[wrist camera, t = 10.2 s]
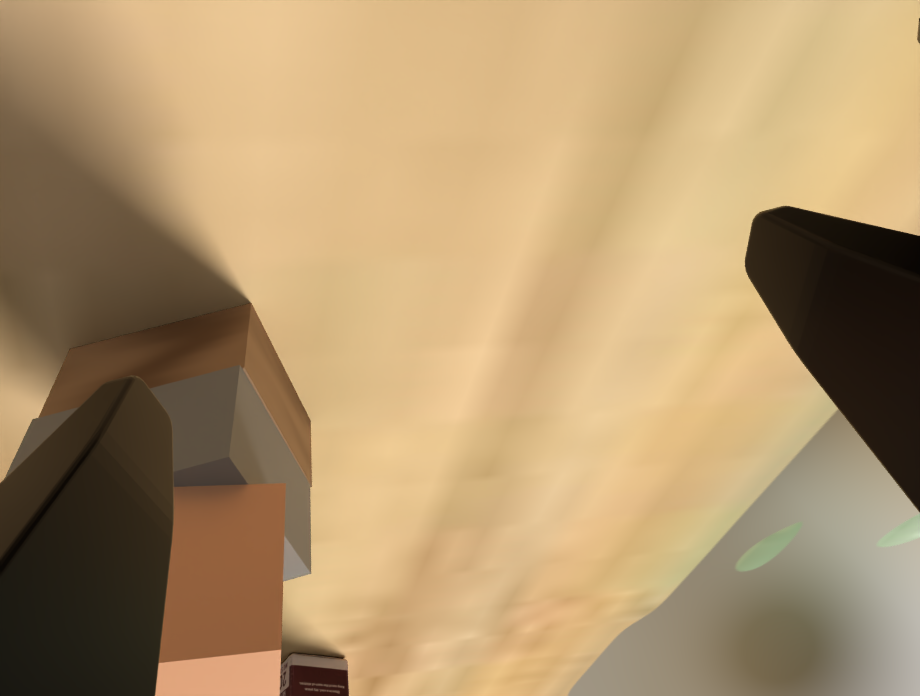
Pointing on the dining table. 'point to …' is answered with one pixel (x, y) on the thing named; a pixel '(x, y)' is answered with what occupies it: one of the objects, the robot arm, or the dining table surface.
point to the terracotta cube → (224, 592)
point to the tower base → (191, 367)
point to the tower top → (221, 448)
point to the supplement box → (313, 676)
